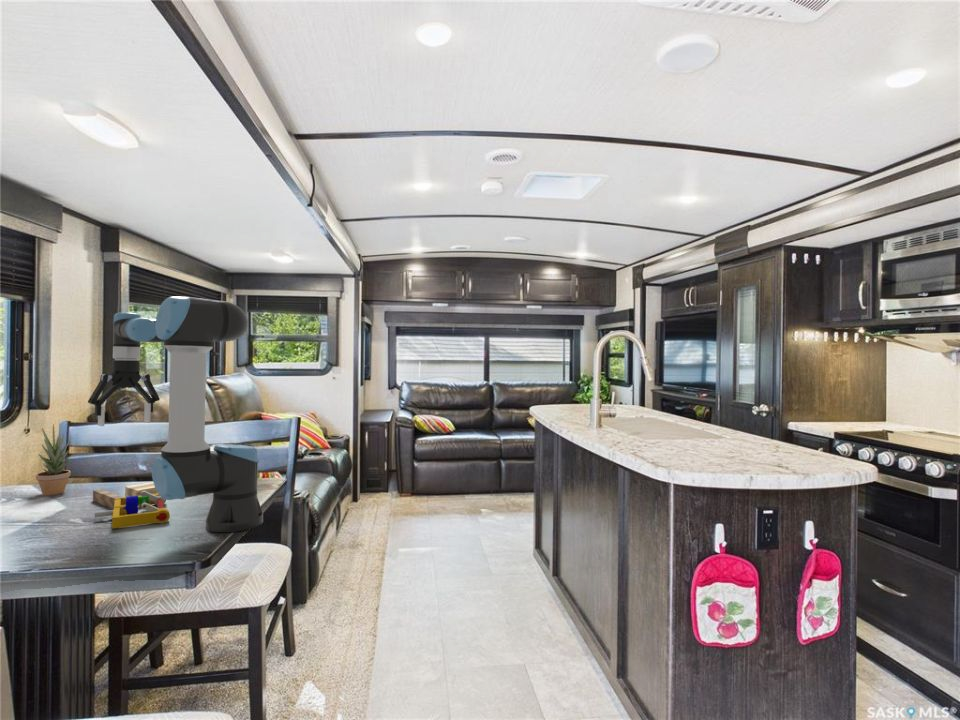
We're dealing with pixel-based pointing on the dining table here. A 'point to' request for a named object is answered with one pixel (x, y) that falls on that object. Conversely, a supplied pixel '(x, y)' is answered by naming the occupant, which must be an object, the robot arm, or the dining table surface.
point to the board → (105, 498)
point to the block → (140, 489)
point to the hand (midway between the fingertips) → (124, 424)
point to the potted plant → (53, 467)
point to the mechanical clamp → (128, 510)
